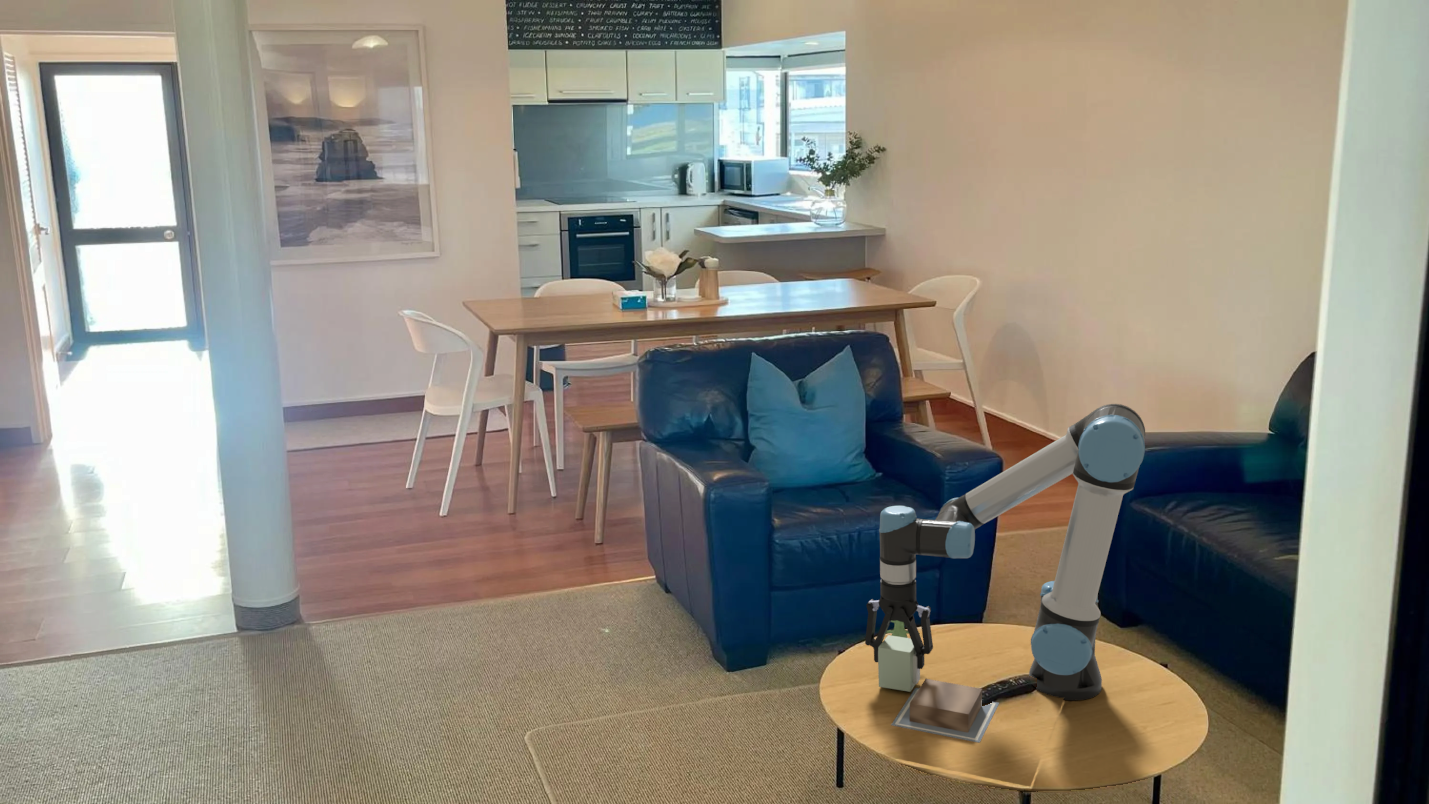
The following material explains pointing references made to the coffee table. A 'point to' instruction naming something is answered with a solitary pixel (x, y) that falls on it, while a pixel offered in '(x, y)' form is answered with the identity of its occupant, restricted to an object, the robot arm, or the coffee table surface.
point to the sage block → (896, 663)
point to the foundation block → (946, 705)
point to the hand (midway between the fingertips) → (899, 678)
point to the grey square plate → (973, 734)
